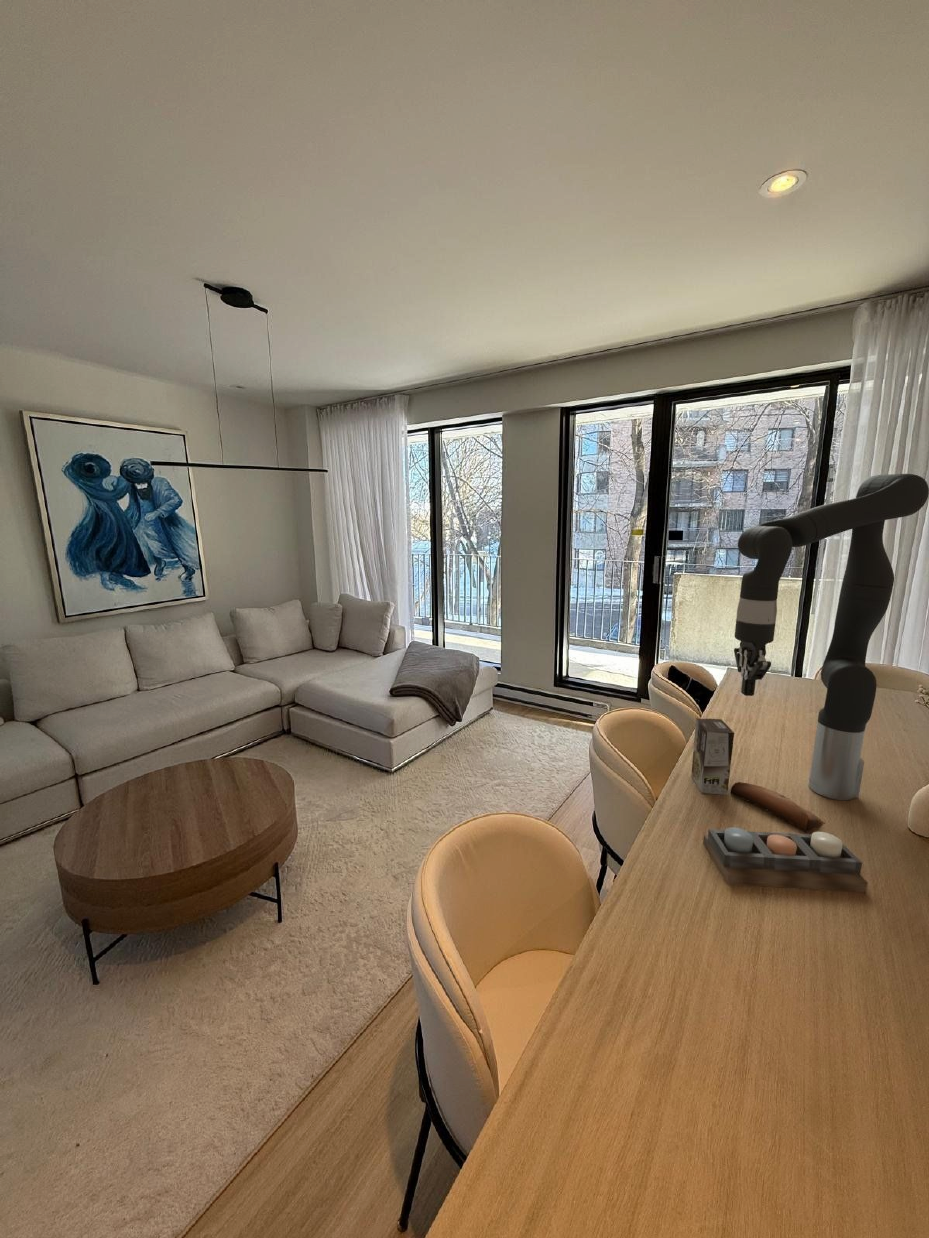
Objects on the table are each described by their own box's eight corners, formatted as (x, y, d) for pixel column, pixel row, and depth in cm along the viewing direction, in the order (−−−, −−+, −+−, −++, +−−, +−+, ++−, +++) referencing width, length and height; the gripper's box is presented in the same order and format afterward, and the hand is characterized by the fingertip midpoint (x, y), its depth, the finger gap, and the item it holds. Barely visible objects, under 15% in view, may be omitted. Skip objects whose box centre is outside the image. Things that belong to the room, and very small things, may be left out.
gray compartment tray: (825, 849, 103) (828, 829, 102) (866, 891, 91) (869, 869, 91) (702, 843, 105) (704, 823, 104) (727, 883, 93) (729, 862, 93)
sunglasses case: (829, 822, 112) (823, 802, 109) (811, 845, 110) (805, 825, 107) (750, 785, 128) (744, 767, 125) (734, 805, 126) (727, 787, 123)
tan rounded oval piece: (786, 848, 100) (788, 835, 99) (800, 865, 95) (802, 850, 95) (761, 847, 100) (762, 833, 100) (773, 863, 96) (775, 849, 95)
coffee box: (728, 795, 123) (735, 733, 120) (700, 793, 124) (706, 731, 121) (716, 776, 132) (722, 718, 129) (690, 775, 133) (695, 717, 130)
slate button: (744, 841, 100) (746, 828, 100) (756, 857, 96) (757, 843, 95) (719, 840, 101) (720, 826, 100) (729, 856, 96) (731, 841, 96)
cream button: (830, 846, 99) (832, 832, 99) (846, 862, 94) (848, 848, 94) (804, 844, 100) (806, 831, 99) (818, 860, 95) (821, 846, 94)
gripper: (790, 625, 104) (780, 705, 108) (759, 613, 117) (751, 685, 121) (751, 625, 105) (743, 704, 108) (725, 613, 118) (718, 684, 121)
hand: (747, 694), depth 114 cm, fingers closed
